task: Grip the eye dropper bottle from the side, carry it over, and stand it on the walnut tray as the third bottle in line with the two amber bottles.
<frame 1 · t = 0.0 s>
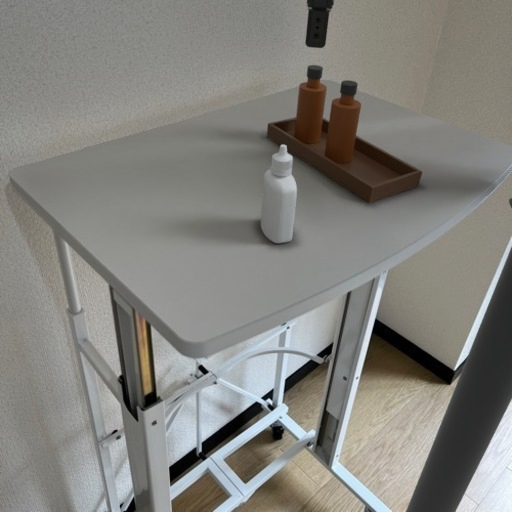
hand: (315, 36, 64), 22 cm above the table, tool pointing down, fingers open, 8 cm apart
amber bottle middle: (338, 157, 88), resting on tray
tray: (337, 160, 88), on the table
eye dropper bottle: (275, 233, 71), on the table
amber bottle far: (307, 138, 93), resting on tray
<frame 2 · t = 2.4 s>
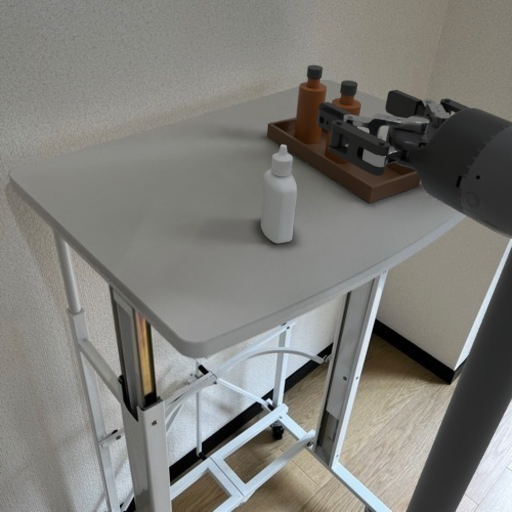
hand: (356, 106, 52), 20 cm above the table, tool horizontal, fingers open, 8 cm apart
nothing on the table moved.
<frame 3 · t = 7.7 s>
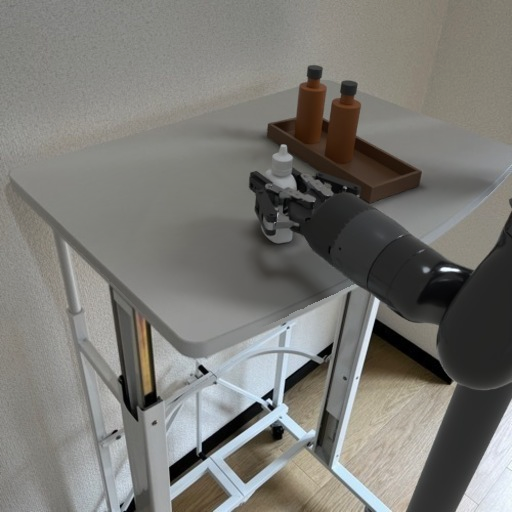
hand: (266, 174, 68), 7 cm above the table, tool horizontal, fingers closed on eye dropper bottle, 3 cm apart
eye dropper bottle: (275, 233, 70), on the table, touching gripper
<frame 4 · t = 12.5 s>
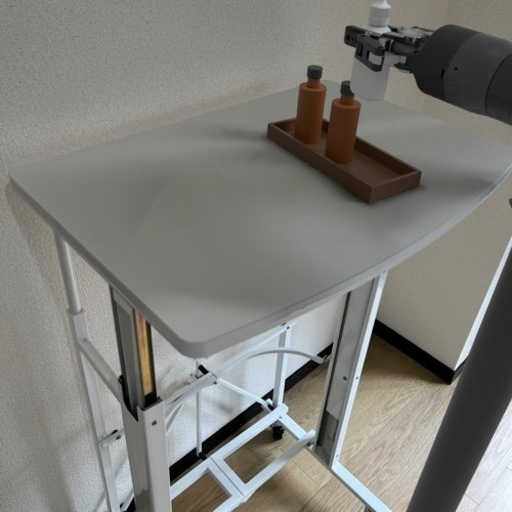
hand: (359, 32, 69), 22 cm above the table, tool horizontal, fingers closed on eye dropper bottle, 3 cm apart
eye dropper bottle: (366, 95, 71), point 14 cm above the table, touching gripper
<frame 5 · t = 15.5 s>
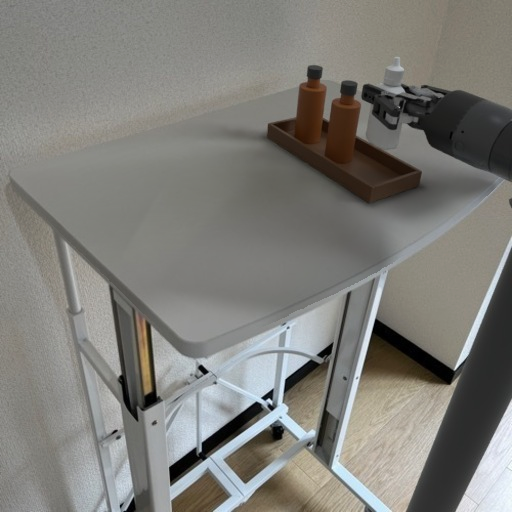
hand: (375, 88, 77), 13 cm above the table, tool horizontal, fingers closed on eye dropper bottle, 3 cm apart
eye dropper bottle: (380, 144, 79), point 6 cm above the table, touching gripper
when the fingers open (8 cm above the table, at t = 17.5 s): eye dropper bottle stays where it is, resting on tray.
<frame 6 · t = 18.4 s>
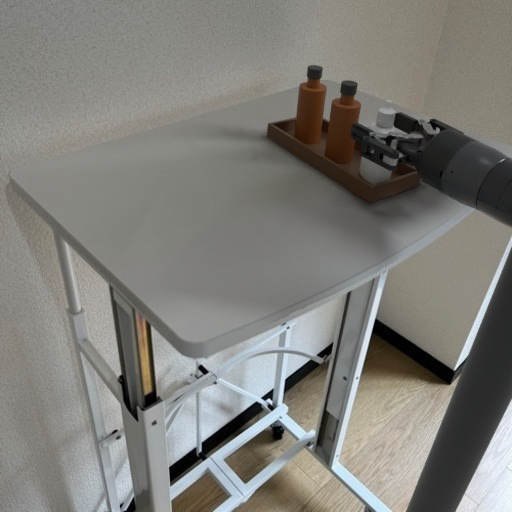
hand: (374, 124, 79), 8 cm above the table, tool horizontal, fingers open, 8 cm apart
eye dropper bottle: (373, 179, 83), resting on tray
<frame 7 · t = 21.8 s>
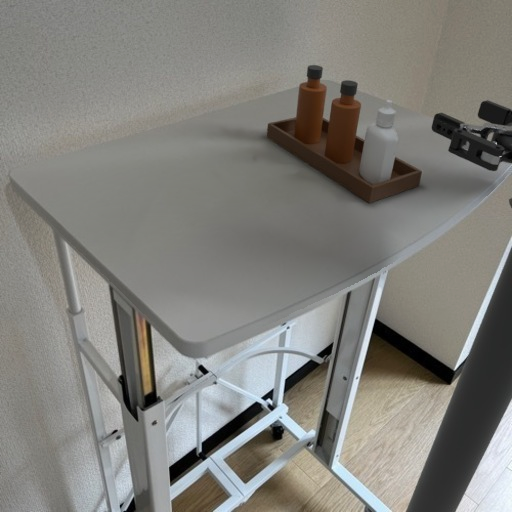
hand: (458, 114, 66), 15 cm above the table, tool horizontal, fingers open, 8 cm apart
nothing on the table moved.
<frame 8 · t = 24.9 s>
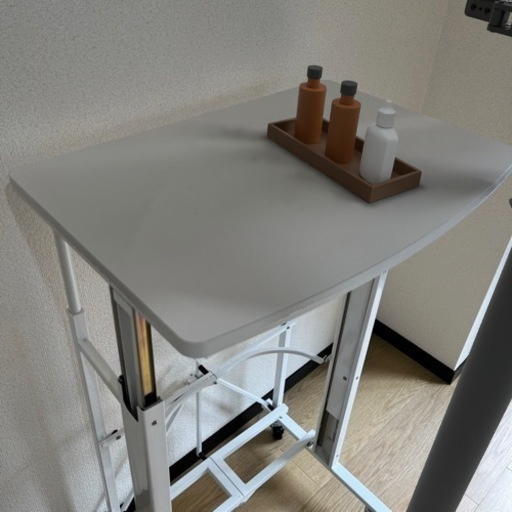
hand: (494, 0, 57), 28 cm above the table, tool horizontal, fingers open, 8 cm apart
nothing on the table moved.
at the end: eye dropper bottle 0.1 cm from the target spot in the tray, point 0.3 cm above the tray's base; eye dropper bottle tilted 0°; the gripper is holding nothing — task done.
